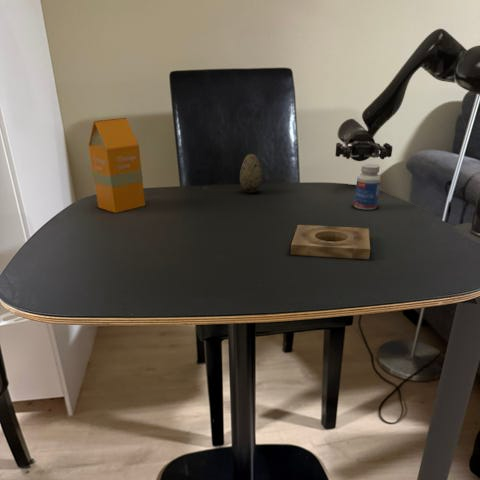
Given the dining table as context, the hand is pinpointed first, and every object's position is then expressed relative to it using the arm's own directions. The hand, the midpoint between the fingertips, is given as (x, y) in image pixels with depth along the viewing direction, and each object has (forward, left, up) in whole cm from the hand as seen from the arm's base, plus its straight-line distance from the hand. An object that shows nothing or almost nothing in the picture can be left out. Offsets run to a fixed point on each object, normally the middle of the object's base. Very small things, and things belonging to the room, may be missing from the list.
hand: (365, 154), depth 120 cm
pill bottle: (-1, +11, -11) cm, 15 cm away
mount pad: (+6, +40, -10) cm, 41 cm away
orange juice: (+58, +20, -10) cm, 62 cm away
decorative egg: (+29, +1, -11) cm, 31 cm away
